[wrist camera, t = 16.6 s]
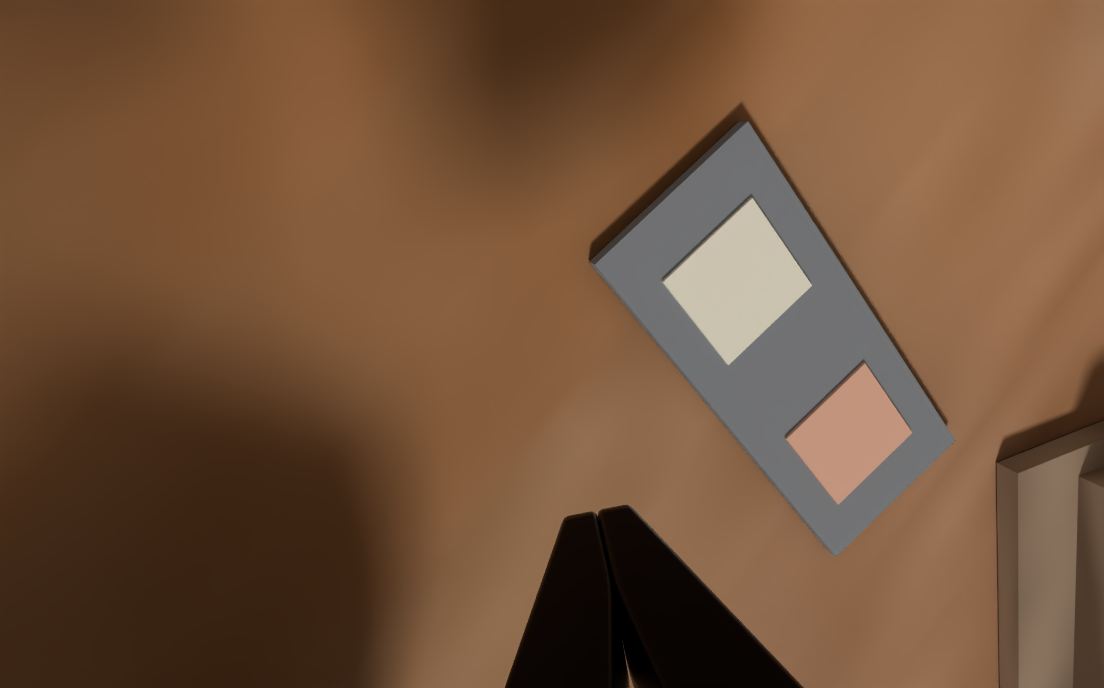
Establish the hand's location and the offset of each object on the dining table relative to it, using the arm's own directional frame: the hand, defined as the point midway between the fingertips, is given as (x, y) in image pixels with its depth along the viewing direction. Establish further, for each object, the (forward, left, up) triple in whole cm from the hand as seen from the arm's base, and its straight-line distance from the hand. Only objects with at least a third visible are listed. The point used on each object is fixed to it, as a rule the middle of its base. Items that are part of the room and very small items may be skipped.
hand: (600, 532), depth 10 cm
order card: (+6, -7, -9) cm, 13 cm away
